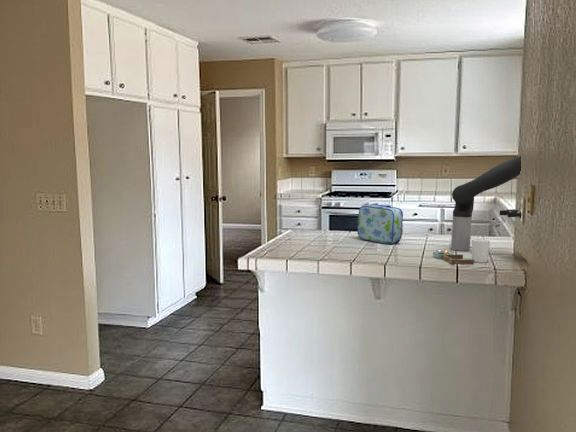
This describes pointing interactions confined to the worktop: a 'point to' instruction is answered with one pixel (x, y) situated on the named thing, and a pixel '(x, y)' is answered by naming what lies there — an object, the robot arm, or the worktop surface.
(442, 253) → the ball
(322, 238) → the worktop surface
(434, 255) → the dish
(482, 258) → the white cup
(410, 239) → the worktop surface
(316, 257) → the worktop surface
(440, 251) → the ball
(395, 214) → the lunch box
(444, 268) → the worktop surface
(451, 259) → the cradle
